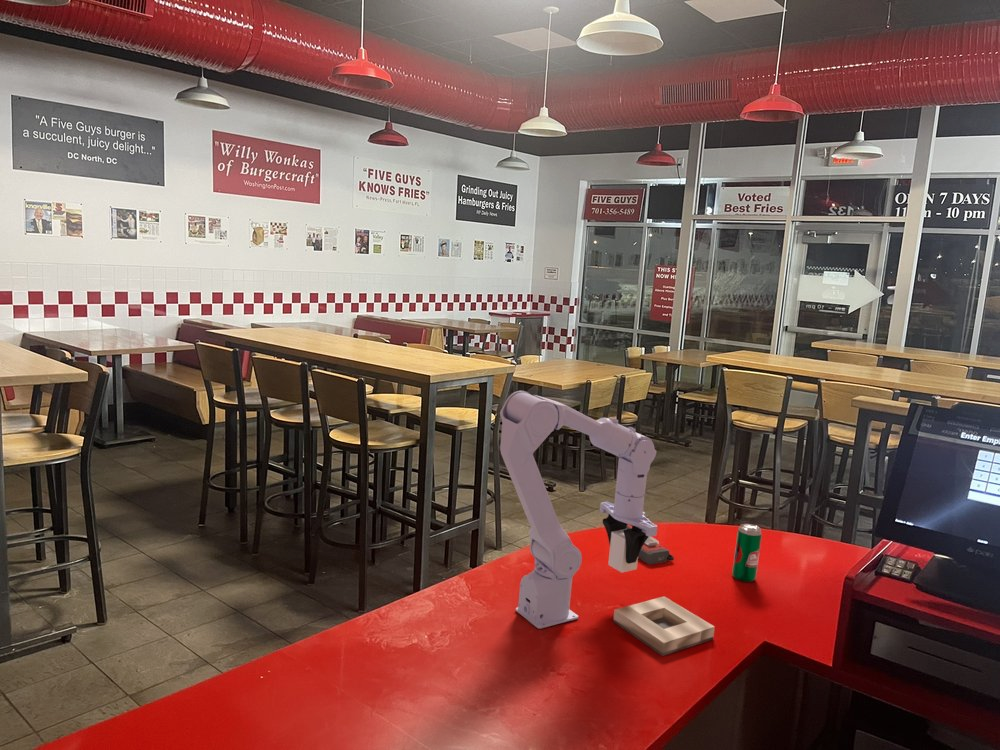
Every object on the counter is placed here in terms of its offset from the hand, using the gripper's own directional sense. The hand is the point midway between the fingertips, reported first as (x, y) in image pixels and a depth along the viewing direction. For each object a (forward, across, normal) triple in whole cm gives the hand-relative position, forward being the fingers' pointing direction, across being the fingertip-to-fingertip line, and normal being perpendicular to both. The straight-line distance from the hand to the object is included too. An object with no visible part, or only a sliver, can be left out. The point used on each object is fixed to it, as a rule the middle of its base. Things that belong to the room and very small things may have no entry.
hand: (623, 557), depth 144 cm
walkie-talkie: (+10, +19, -24) cm, 32 cm away
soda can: (+10, -4, -34) cm, 36 cm away
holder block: (+9, -12, 0) cm, 15 cm away
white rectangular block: (+2, 0, 0) cm, 2 cm away
